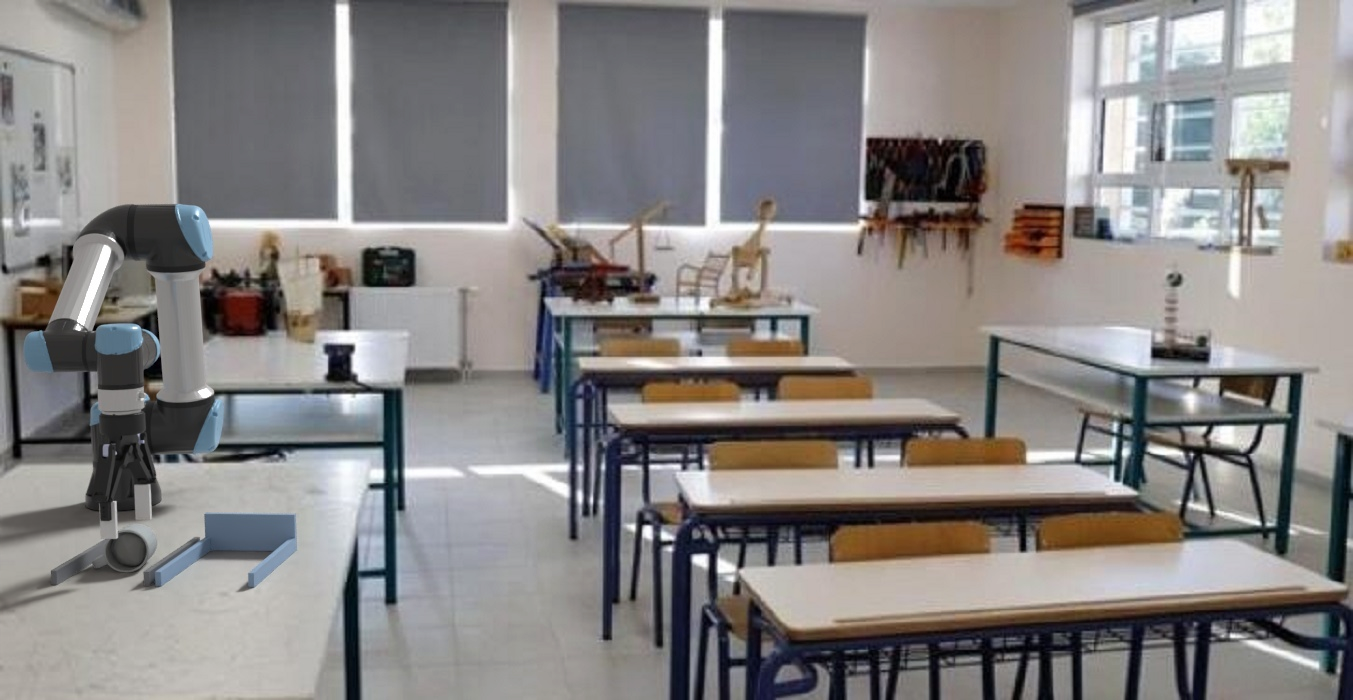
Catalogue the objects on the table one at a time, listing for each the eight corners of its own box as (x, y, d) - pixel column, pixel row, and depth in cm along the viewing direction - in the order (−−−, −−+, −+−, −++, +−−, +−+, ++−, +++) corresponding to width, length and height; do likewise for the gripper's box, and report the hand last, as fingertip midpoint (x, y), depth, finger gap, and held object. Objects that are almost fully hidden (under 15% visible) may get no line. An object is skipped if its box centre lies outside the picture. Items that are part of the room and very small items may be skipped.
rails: (110, 548, 238) (110, 536, 237) (200, 550, 237) (199, 537, 237) (51, 584, 216) (50, 570, 215) (149, 586, 215) (149, 571, 215)
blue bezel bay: (207, 548, 238) (206, 512, 237) (297, 549, 238) (295, 513, 237) (155, 586, 215) (153, 546, 215) (254, 587, 215) (252, 547, 214)
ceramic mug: (160, 558, 232) (158, 518, 231) (149, 571, 224) (147, 529, 223) (99, 562, 230) (96, 521, 229) (86, 575, 222) (83, 532, 221)
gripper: (110, 423, 211) (115, 547, 213) (172, 401, 235) (176, 512, 238) (65, 422, 211) (71, 546, 213) (132, 400, 235) (137, 511, 238)
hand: (127, 528), depth 225 cm, fingers open, 13 cm apart
